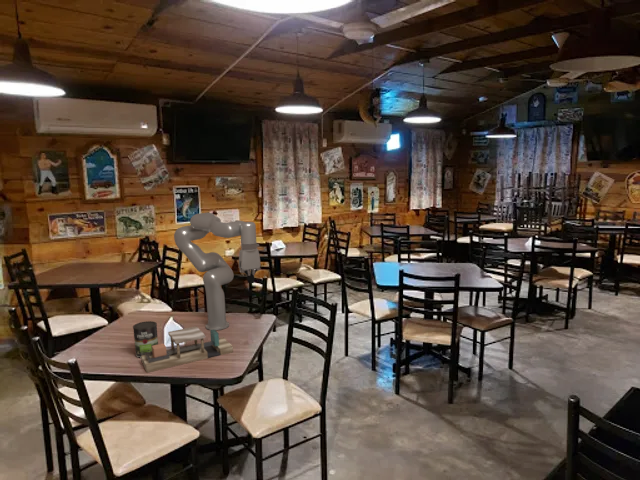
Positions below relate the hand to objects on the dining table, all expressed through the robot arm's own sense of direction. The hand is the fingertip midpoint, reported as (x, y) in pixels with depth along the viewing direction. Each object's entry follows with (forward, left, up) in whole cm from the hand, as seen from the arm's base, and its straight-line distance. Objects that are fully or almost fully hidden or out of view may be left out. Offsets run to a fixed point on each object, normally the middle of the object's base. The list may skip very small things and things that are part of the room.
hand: (250, 282), depth 227 cm
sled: (+10, -38, -24) cm, 46 cm away
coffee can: (-5, -51, -27) cm, 58 cm away
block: (+10, -48, -24) cm, 55 cm away
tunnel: (+10, -36, -27) cm, 46 cm away
